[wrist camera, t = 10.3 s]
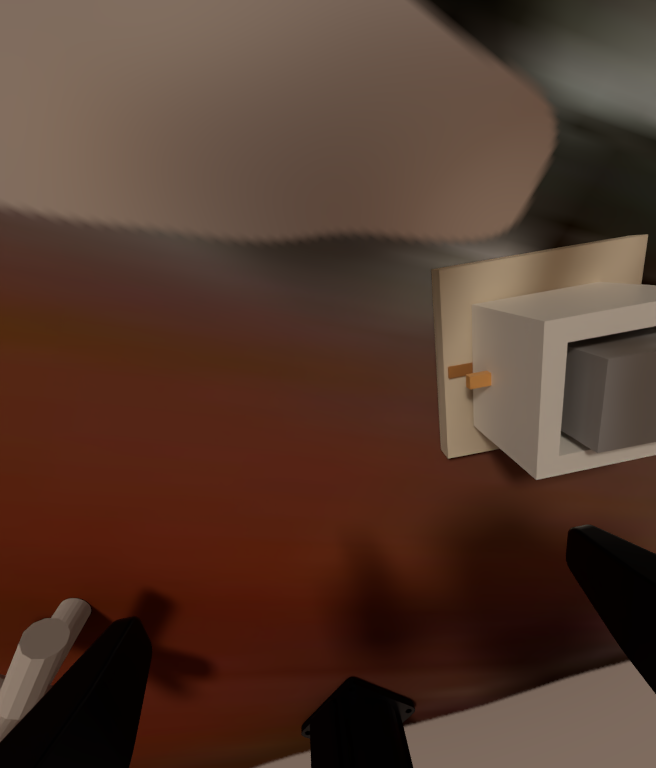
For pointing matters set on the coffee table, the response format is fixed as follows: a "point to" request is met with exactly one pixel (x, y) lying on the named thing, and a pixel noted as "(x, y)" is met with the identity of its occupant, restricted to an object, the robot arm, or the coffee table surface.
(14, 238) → the coffee table surface
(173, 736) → the coffee table surface
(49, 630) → the pipe connector
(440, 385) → the square peg base
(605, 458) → the square tube segment
